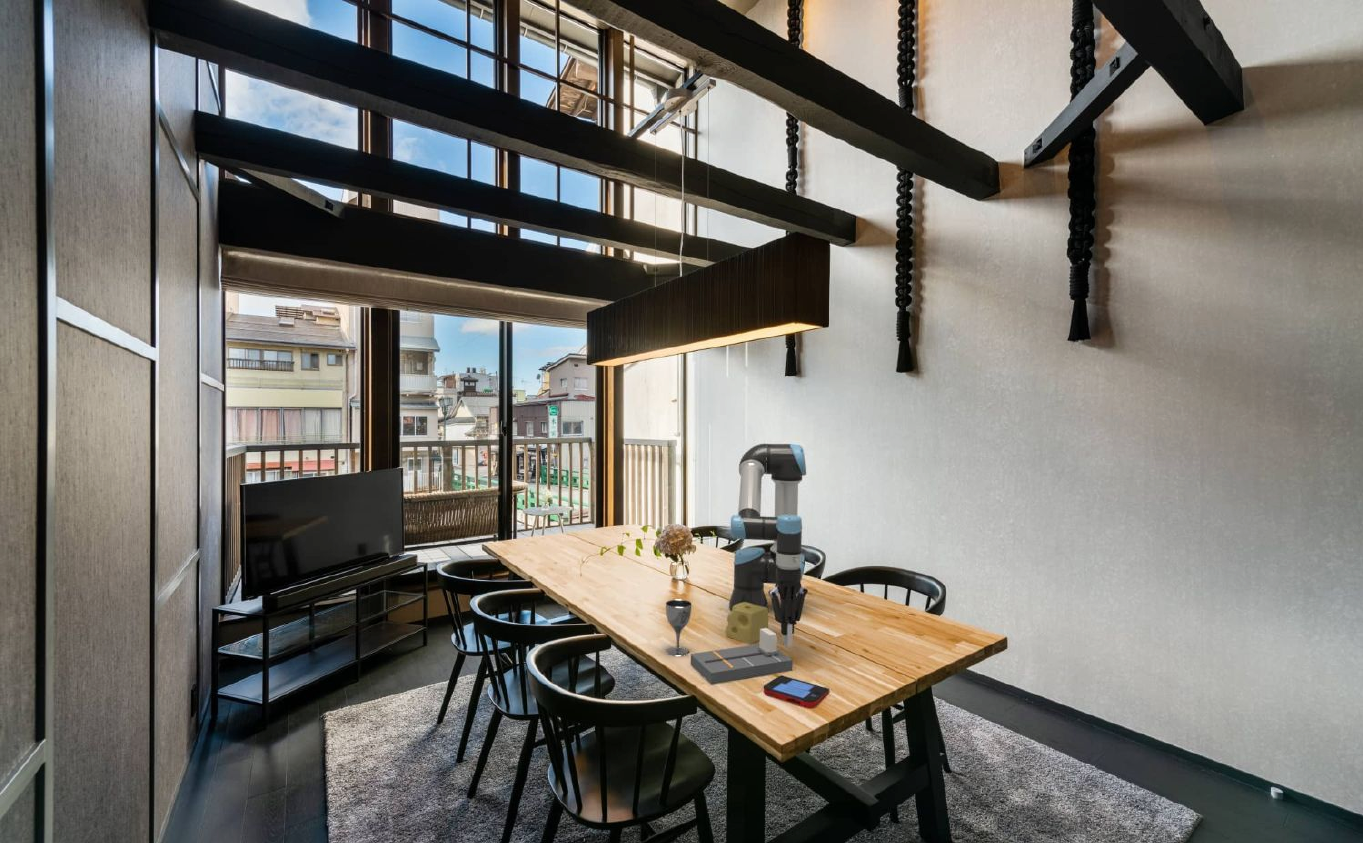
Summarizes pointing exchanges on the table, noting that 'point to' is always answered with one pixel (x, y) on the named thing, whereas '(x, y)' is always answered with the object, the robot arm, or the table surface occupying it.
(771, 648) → the fader
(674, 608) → the wine glass
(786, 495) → the robot arm
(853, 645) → the table surface
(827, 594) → the table surface
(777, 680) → the red and black smartphone
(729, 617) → the cheese
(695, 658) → the board
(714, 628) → the table surface
